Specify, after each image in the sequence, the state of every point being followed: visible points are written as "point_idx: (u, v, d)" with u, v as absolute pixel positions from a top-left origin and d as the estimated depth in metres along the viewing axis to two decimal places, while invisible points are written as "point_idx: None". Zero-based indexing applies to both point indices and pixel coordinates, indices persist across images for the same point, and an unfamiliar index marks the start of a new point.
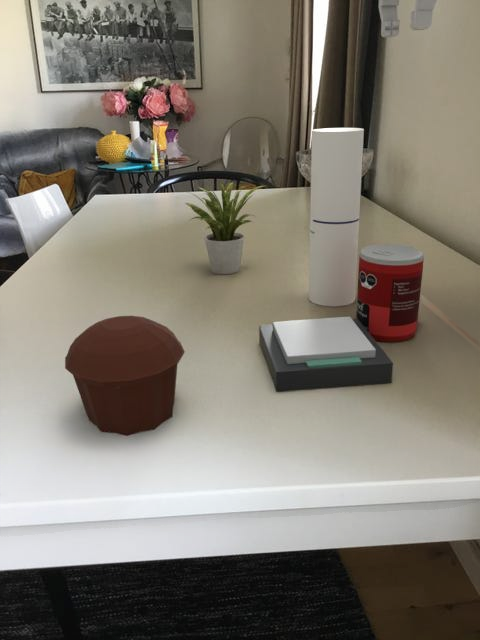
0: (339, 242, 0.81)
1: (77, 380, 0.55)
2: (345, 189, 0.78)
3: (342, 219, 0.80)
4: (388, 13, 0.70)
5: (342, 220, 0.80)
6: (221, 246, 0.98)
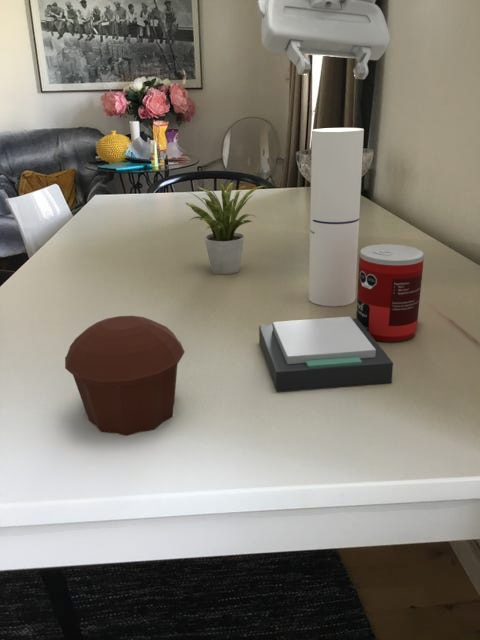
0: (339, 242, 0.81)
1: (77, 380, 0.55)
2: (345, 189, 0.78)
3: (342, 219, 0.80)
4: None
5: (342, 220, 0.80)
6: (221, 246, 0.98)
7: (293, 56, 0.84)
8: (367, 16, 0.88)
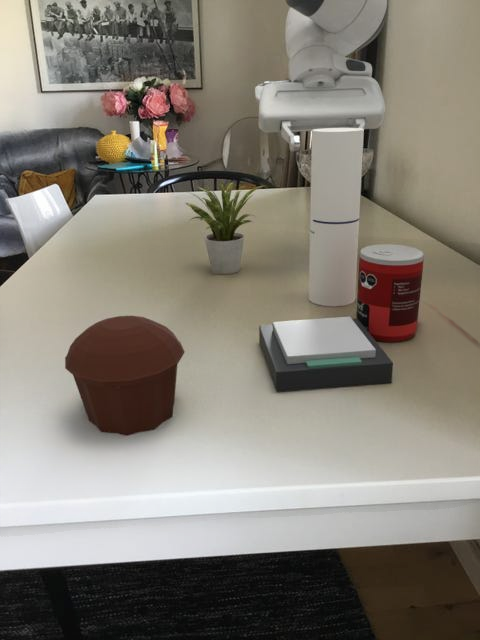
0: (339, 242, 0.81)
1: (77, 380, 0.55)
2: (345, 189, 0.78)
3: (342, 219, 0.80)
4: None
5: (342, 220, 0.80)
6: (221, 246, 0.98)
7: (285, 135, 0.89)
8: (363, 89, 0.91)
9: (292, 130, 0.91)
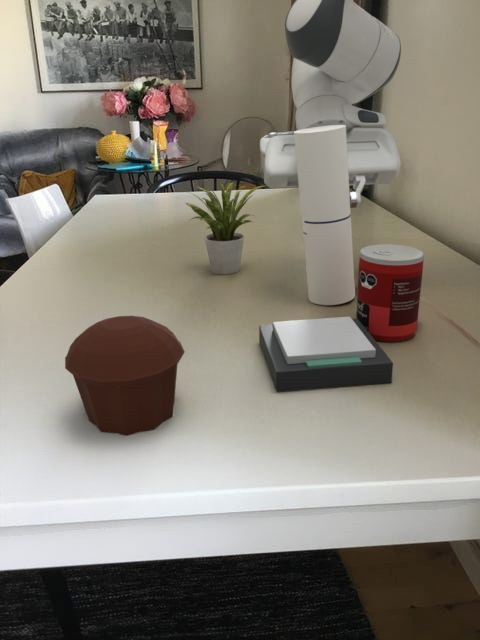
0: (332, 241, 0.81)
1: (77, 380, 0.55)
2: (333, 188, 0.78)
3: (333, 218, 0.80)
4: None
5: (333, 219, 0.80)
6: (221, 246, 0.98)
7: None
8: (376, 142, 0.85)
9: None
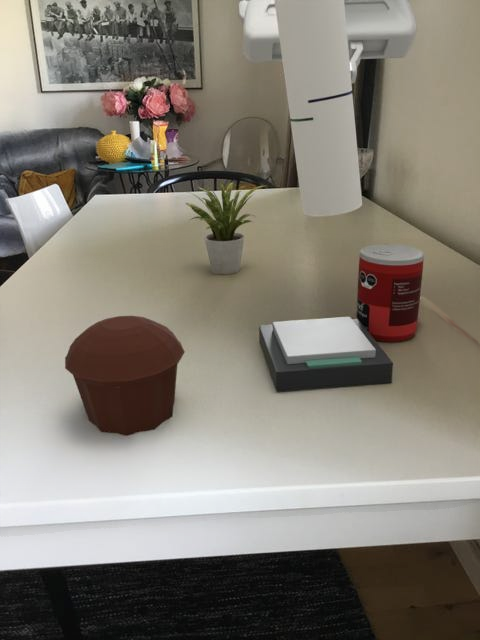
0: (348, 121, 0.62)
1: (77, 380, 0.55)
2: (344, 45, 0.59)
3: (347, 88, 0.61)
4: None
5: (347, 90, 0.61)
6: (221, 246, 0.98)
7: None
8: (385, 3, 0.67)
9: None
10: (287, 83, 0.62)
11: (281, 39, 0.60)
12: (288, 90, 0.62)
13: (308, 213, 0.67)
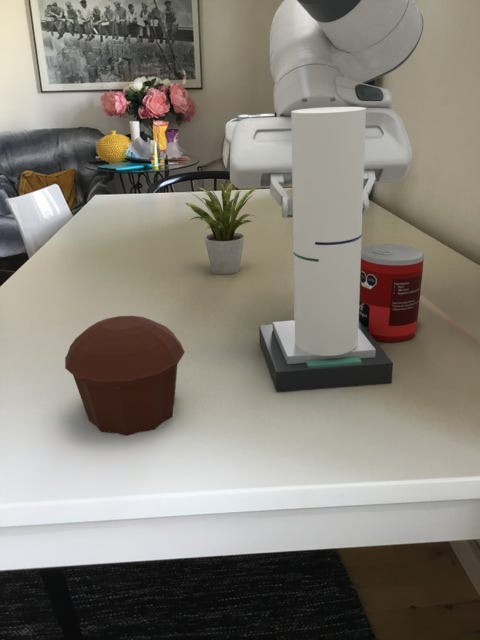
0: (354, 265, 0.59)
1: (77, 380, 0.55)
2: (359, 192, 0.56)
3: (357, 233, 0.57)
4: None
5: (357, 235, 0.57)
6: (221, 246, 0.98)
7: (275, 194, 0.62)
8: (379, 127, 0.63)
9: None
10: (295, 218, 0.58)
11: (294, 175, 0.56)
12: (295, 225, 0.58)
13: (301, 347, 0.63)
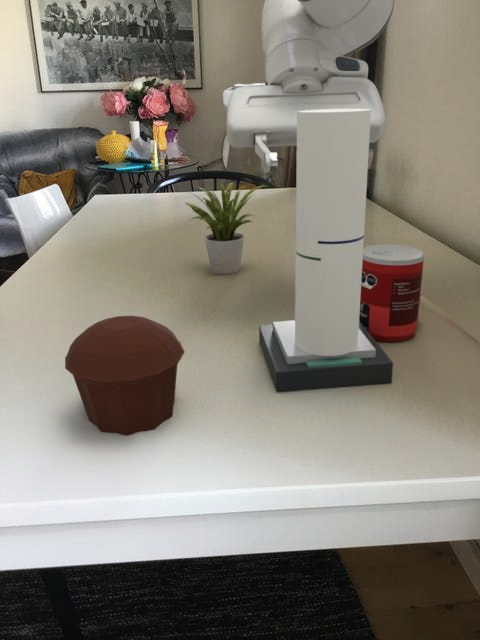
0: (356, 266, 0.59)
1: (77, 380, 0.55)
2: (363, 192, 0.56)
3: (359, 234, 0.58)
4: None
5: (359, 235, 0.58)
6: (221, 246, 0.98)
7: (259, 152, 0.71)
8: (356, 94, 0.73)
9: (269, 145, 0.73)
10: (298, 217, 0.58)
11: (298, 174, 0.57)
12: (298, 224, 0.59)
13: (301, 347, 0.63)
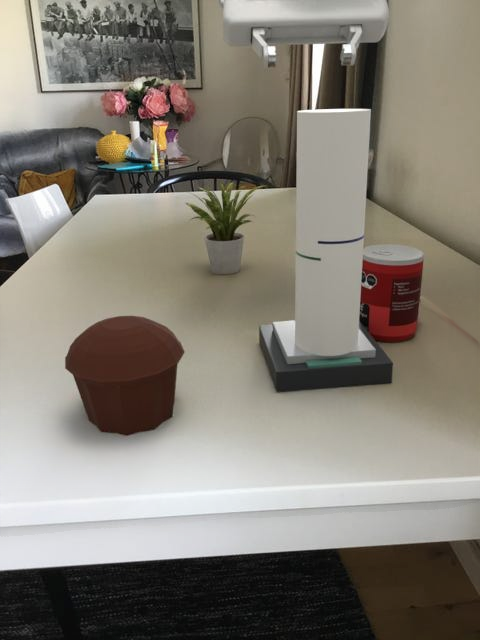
0: (356, 266, 0.59)
1: (77, 380, 0.55)
2: (363, 192, 0.56)
3: (359, 234, 0.58)
4: None
5: (359, 235, 0.58)
6: (221, 246, 0.98)
7: (257, 47, 0.68)
8: None
9: (267, 43, 0.70)
10: (298, 217, 0.58)
11: (298, 174, 0.57)
12: (298, 224, 0.59)
13: (301, 347, 0.63)
